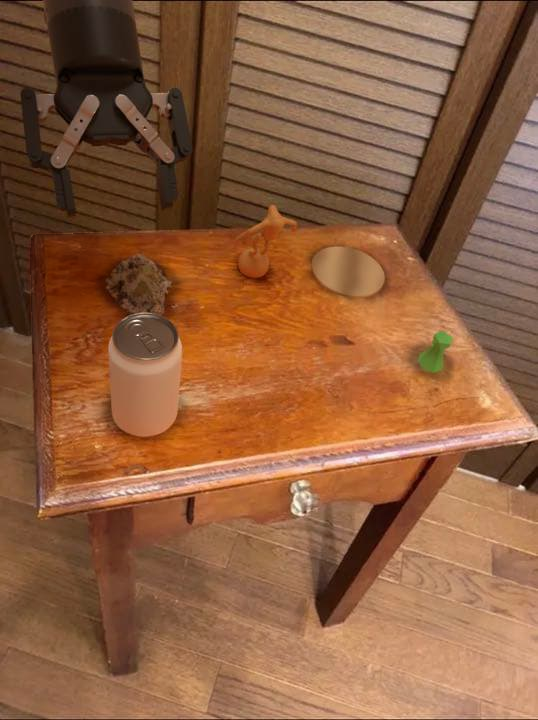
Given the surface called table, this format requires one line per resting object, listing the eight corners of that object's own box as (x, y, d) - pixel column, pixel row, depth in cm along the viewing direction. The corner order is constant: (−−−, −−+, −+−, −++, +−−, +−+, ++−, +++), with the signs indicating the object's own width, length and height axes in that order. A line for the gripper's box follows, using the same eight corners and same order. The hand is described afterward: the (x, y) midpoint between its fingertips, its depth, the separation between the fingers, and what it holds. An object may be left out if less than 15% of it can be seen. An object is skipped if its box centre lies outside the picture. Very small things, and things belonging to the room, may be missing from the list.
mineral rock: (93, 256, 71) (157, 237, 71) (105, 281, 74) (166, 262, 75) (109, 321, 65) (179, 299, 66) (121, 345, 68) (187, 323, 69)
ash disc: (307, 296, 76) (310, 287, 75) (310, 249, 82) (313, 240, 81) (383, 310, 76) (386, 301, 75) (379, 262, 83) (383, 253, 82)
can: (151, 381, 63) (153, 298, 54) (190, 420, 60) (198, 341, 51) (99, 411, 59) (91, 328, 50) (137, 454, 57) (137, 375, 48)
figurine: (272, 260, 79) (289, 182, 71) (293, 289, 76) (313, 211, 67) (216, 271, 76) (226, 191, 67) (235, 302, 73) (248, 222, 64)
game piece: (413, 381, 69) (432, 346, 65) (406, 353, 72) (423, 319, 67) (447, 383, 70) (468, 349, 65) (439, 356, 72) (459, 322, 68)
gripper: (0, -3, 45) (36, 210, 47) (180, 5, 50) (207, 199, 52) (6, 40, 52) (38, 225, 54) (164, 44, 57) (188, 213, 59)
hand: (121, 212), depth 53 cm, fingers open, 8 cm apart
